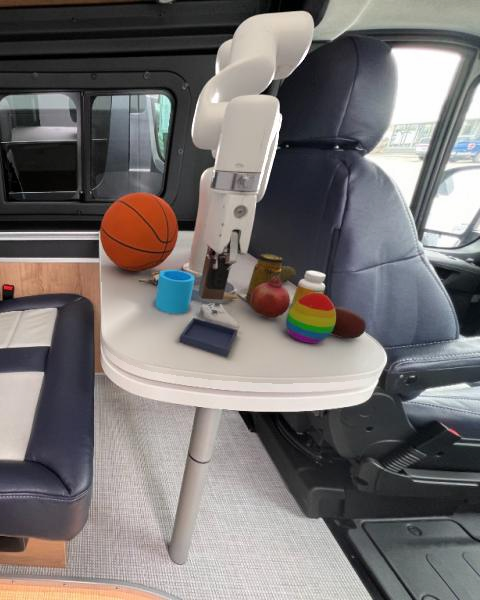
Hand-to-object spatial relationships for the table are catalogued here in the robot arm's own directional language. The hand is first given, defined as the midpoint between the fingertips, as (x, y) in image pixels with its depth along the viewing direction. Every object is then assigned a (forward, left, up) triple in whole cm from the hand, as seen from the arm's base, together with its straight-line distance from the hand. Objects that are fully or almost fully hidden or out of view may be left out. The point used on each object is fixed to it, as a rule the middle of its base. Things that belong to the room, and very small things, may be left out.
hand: (212, 284), depth 61 cm
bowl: (-25, -5, -12) cm, 28 cm away
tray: (-1, +1, -12) cm, 12 cm away
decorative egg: (-14, +18, -12) cm, 26 cm away
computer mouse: (-24, -17, -12) cm, 32 cm away
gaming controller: (-10, +1, -12) cm, 16 cm away
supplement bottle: (-30, +17, -12) cm, 37 cm away
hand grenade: (-51, +13, -9) cm, 53 cm away
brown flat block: (-1, +1, -2) cm, 3 cm away
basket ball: (-32, -33, -12) cm, 48 cm away
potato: (-21, +24, -6) cm, 32 cm away
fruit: (-20, +10, -12) cm, 25 cm away
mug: (-14, -11, -12) cm, 21 cm away
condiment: (-29, +8, -12) cm, 32 cm away
